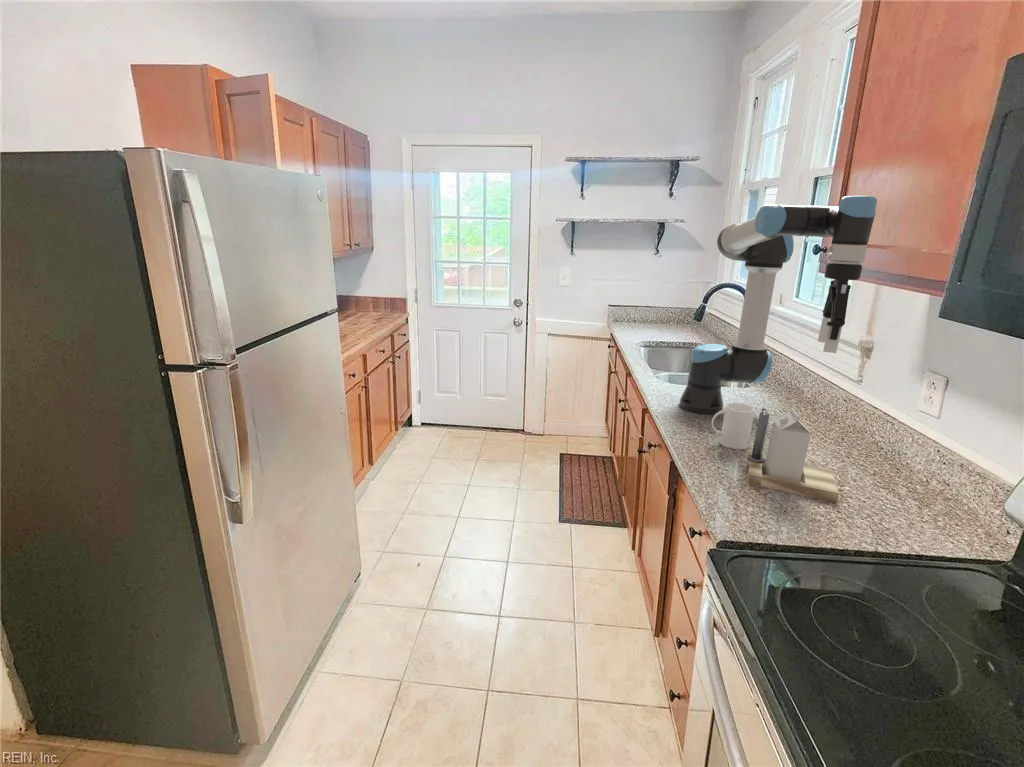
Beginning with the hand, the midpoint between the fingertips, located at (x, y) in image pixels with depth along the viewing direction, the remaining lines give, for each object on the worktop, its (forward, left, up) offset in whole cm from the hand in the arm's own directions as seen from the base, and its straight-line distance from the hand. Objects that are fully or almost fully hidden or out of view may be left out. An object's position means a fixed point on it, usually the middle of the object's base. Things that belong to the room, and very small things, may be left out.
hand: (826, 347), depth 132 cm
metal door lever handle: (+5, -12, -35) cm, 37 cm away
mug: (-9, -19, -35) cm, 41 cm away
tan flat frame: (+10, -3, -35) cm, 36 cm away
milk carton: (+10, -5, -35) cm, 37 cm away
